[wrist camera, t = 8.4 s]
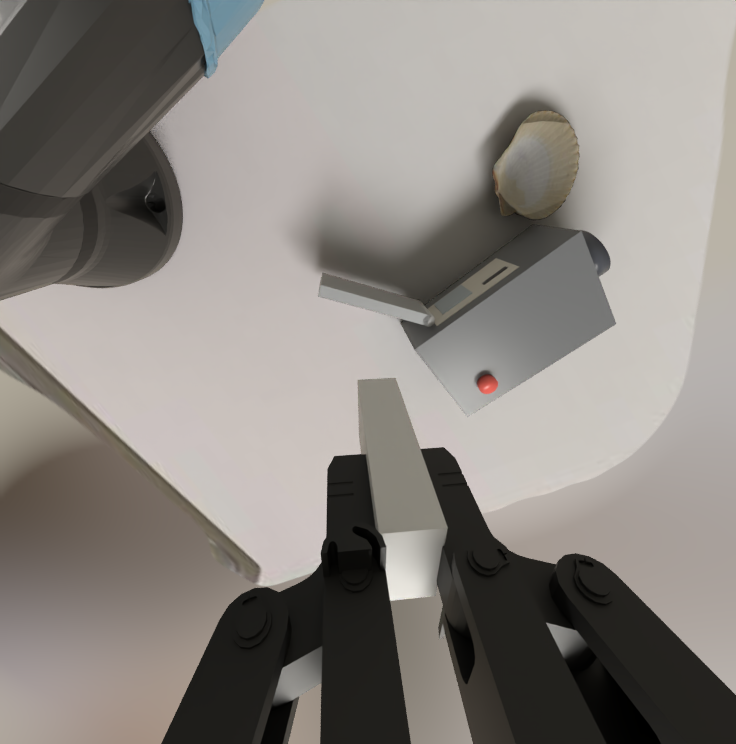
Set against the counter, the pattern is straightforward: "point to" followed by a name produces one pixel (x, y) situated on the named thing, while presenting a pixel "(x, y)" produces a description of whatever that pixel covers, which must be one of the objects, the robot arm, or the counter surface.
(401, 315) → the side door
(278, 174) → the counter surface
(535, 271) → the camera body
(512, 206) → the seashell
